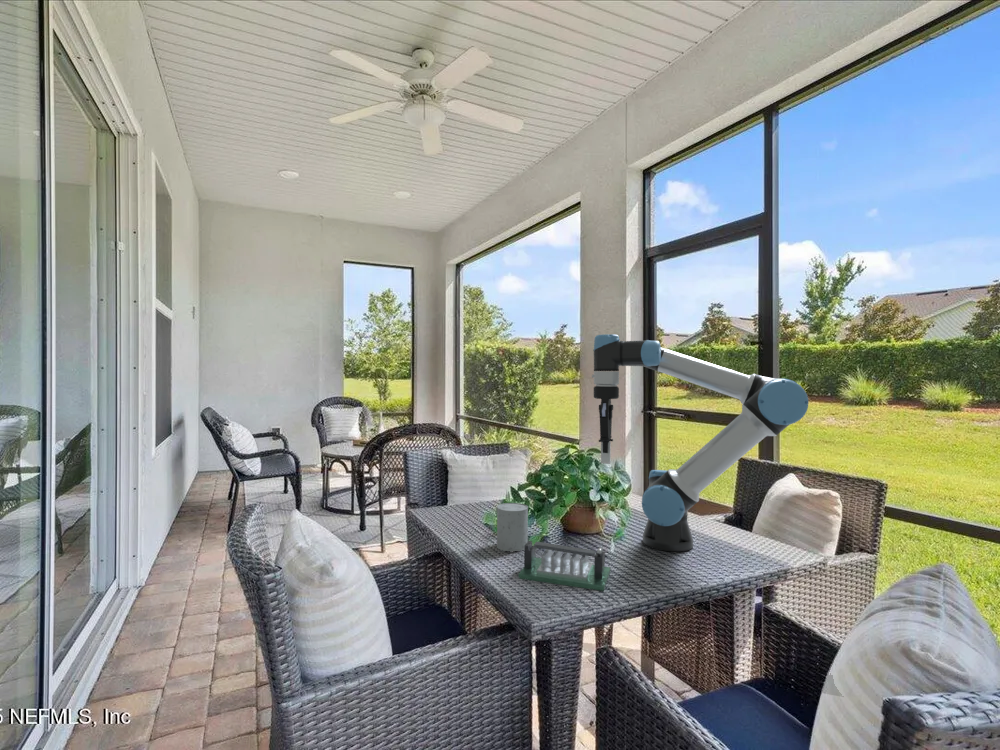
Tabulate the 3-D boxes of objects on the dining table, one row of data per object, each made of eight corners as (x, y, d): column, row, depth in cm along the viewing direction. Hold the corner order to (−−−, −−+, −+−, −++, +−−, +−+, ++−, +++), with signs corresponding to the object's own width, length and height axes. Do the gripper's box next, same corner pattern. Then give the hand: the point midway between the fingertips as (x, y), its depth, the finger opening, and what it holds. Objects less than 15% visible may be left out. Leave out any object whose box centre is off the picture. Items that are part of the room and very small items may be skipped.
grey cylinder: (504, 539, 166) (505, 501, 166) (532, 544, 162) (532, 505, 162) (491, 548, 157) (491, 508, 157) (520, 554, 153) (520, 512, 153)
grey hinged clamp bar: (602, 554, 136) (603, 547, 136) (600, 558, 133) (601, 551, 133) (536, 543, 142) (537, 537, 142) (533, 547, 139) (533, 540, 139)
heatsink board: (610, 571, 140) (610, 545, 140) (603, 591, 128) (604, 562, 128) (532, 561, 148) (532, 535, 148) (518, 578, 135) (518, 550, 135)
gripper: (596, 384, 165) (596, 459, 165) (590, 386, 153) (590, 466, 153) (620, 385, 163) (620, 460, 163) (616, 386, 150) (616, 467, 150)
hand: (605, 463), depth 158 cm, fingers closed
